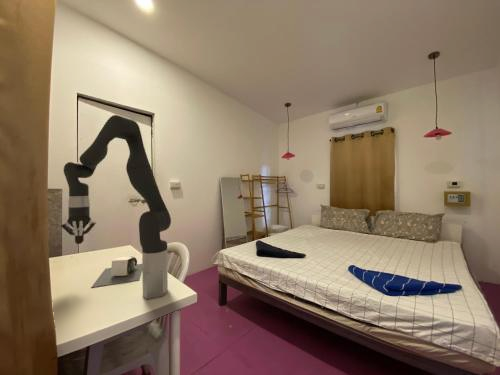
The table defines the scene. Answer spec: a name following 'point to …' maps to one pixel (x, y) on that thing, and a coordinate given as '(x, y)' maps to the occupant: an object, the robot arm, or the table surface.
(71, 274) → the table surface
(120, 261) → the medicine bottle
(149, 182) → the robot arm
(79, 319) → the table surface
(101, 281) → the mat
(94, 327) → the table surface
